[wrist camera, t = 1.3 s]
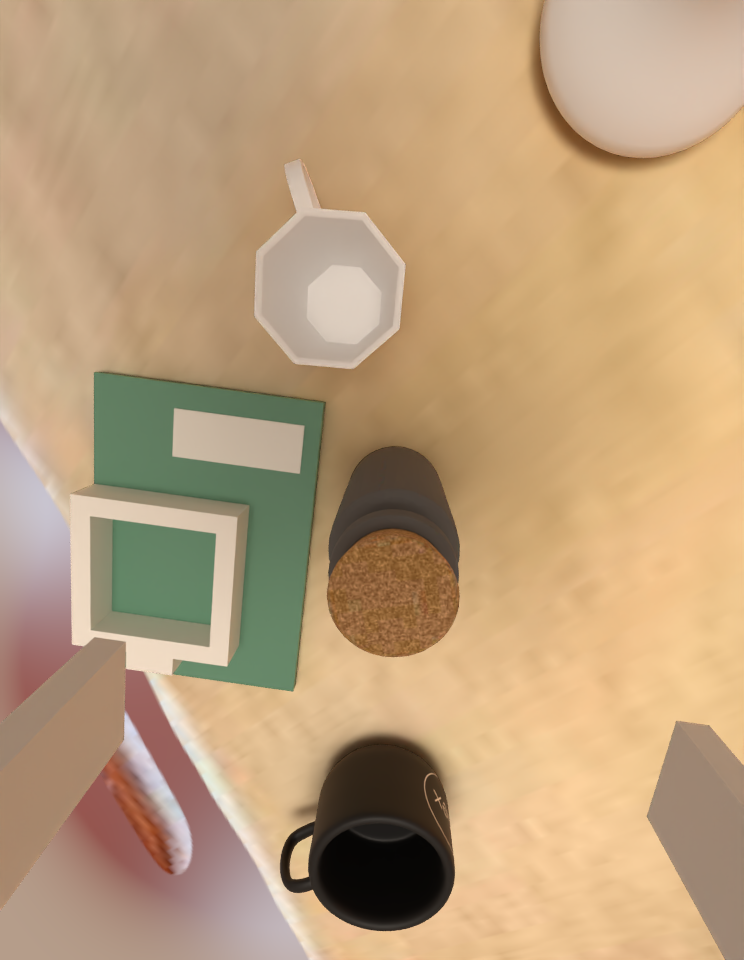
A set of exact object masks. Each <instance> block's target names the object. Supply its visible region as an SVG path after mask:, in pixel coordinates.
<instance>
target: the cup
mask: <svg viewBox="0 0 744 960" xmlns="http://www.w3.org/2000/svg"><path fill="white" fill-rule="evenodd" d="M284 166H285V174H286V178H287V182H288V185H289V189H290V192H291V195H292V199H293V202H294V205H295V208H296V211H297V213H296V214H294V215H293V216H292V217H291V218H290V219H289V220H288V221H287V222H286V223H285V224H284V225H283V226H282V227H281V228H280V229H279V230H278V231H277V232H276V233H275V234H274V235H273V236H272V237H271V238H270V239H269V240H268V241H267V242H266V243H264V244H263V245H262V246H261V247H260V248H259V249H258V250H257V251H256V272H255V304H254V317H255V318H256V319H257V320H258V322H259V323H260V324H261V325H262V326H263V327H264V329H265V330H266V331H267V332H268V333H269V335H270V336H271V337H272V338H273V339H274V340H275V342H276V343H277V344H278V345H279V346H280V348H281V349H282V350H283V351H284V352H285V353H286V355H287V356H288V357H289V358H290V359H291V361H292V362H293V363H294V364H302V365H313V366H324V367H335V368H346V369H354V368H355V367H356V366H358V365H359V364H360V363H361V362H362V361H363V360H364V359H366V358H367V357H368V356H369V355H370V354H371V353H373V352H374V351H375V350H376V349H377V348H378V347H379V346H381V345H382V344H383V343H384V342H385V341H386V340H388V339H389V338H390V337H391V336H392V335H393V334H395V333H396V332H397V331H398V330H399V328H400V318H401V307H402V297H403V287H404V276H405V266H406V264H405V263H404V262H403V260H402V259H401V258H400V256H399V255H398V254H397V253H396V251H395V250H394V249H393V247H392V246H391V245H390V244H389V242H388V241H387V240H386V238H385V237H384V236H383V235H382V233H381V232H380V231H379V229H378V228H377V227H376V225H375V224H374V223H373V222H372V220H371V219H370V218H369V216H368V215H367V214H366V213H365V212H355V211H343V210H331V209H321V207H320V204H319V201H318V198H317V195H316V193H315V190H314V187H313V184H312V181H311V179H310V176H309V174H308V171H307V169H306V166H305V165H304V163H303V161H302V160H301V159H297V160H294V161H292V162H289V163H286V164H284Z"/></svg>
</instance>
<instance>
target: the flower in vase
mask: <svg viewBox="0 0 744 960" xmlns="http://www.w3.org/2000/svg"><path fill="white" fill-rule="evenodd" d="M540 56H541V64H542V69H543V74H544V78H545V81H546V84H547V87H548V90H549V93H550V95H551V97H552V99H553V101H554V103H555V105H556V107H557V109H558V110H559V112H560V113H561V115H562V116H563V118H564V119H565V120H566V122H567V123H568V124H569V125H570V126H571V127H572V128H573V130H574V131H576V132H577V133H578V134H579V135H580V136H582V137H583V138H584V139H585V140H587V141H588V142H590V143H591V144H593V145H595V146H596V147H598V148H600V149H603V150H605V151H607V152H610V153H613V154H617V155H621V156H625V157H634V158H654V157H660V156H666V155H671V154H674V153H677V152H680V151H683V150H686V149H688V148H690V147H692V146H694V145H696V144H698V143H700V142H702V141H703V140H705V139H707V138H708V137H710V136H711V135H713V134H714V133H716V132H717V131H718V130H719V129H721V128H722V127H723V126H724V125H726V124H727V123H728V122H729V121H730V120H731V119H732V118H733V117H734V116H735V115H736V114H737V113H738V112H739V111H740V110H741V108H742V107H743V106H744V0H545V1H544V5H543V10H542V16H541V23H540Z"/></svg>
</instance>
